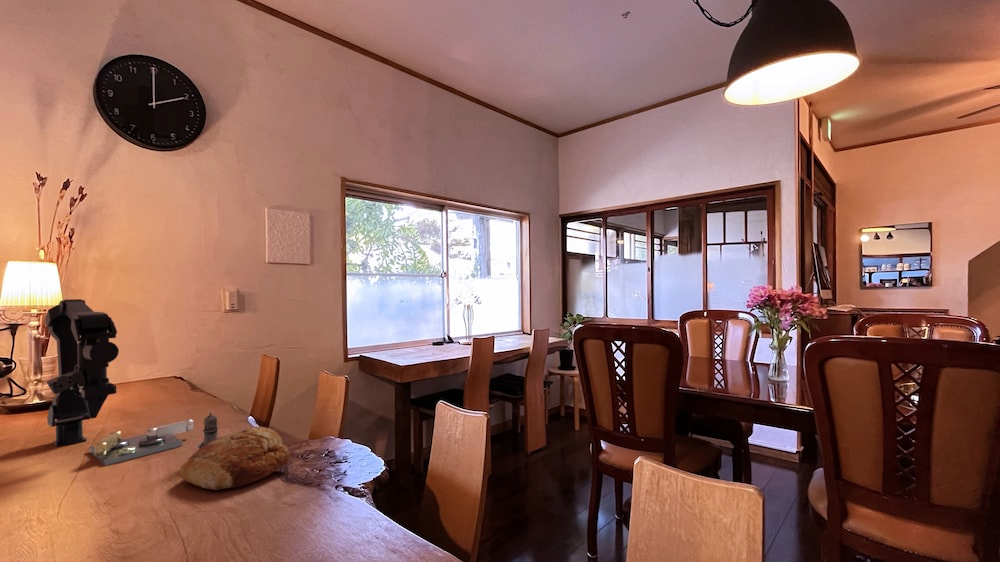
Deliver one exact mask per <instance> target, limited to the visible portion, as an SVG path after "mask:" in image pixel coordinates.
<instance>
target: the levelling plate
mask: <svg viewBox="0 0 1000 562" xmlns="http://www.w3.org/2000/svg"><path fill="white" fill-rule="evenodd" d="M144 438H147V433H144V434H140V435H135V436H132V437H131V436H130V437H126V439H128V440H129V444H128V445H126V446H123V447H120V448H116V449H110V450H109V451H107V454H105V455H101V456H95V452H94V445H92V446H89V453H90V454H91V455H92V456H93V457H94V458H95V459H96V460H98V461H99V462H100V463H101V464H102V465H103V466H105V467H106V466H110V465H111V466H112V465H116V464H119V463H122V462H126V461H130V460H133V459H134V460H135V459H136V458H141V457H146V456H149V455H152V454H156V453H160V452H165V451H168V450H172V449H175V448H179V447H183V446H184V444H183V440H182V439H181V438H179V437H177V436H175V435H174V434H173V435H169V436H165V440H164V441H163V442H160V443H157V444H153V445H146V446H141V445H139V441H140V440H141V439H144Z"/></svg>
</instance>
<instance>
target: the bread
mask: <svg viewBox="0 0 1000 562" xmlns="http://www.w3.org/2000/svg"><path fill="white" fill-rule="evenodd" d="M290 459H291V453H290V451H289V449H288V447H287V446H286V445H285V444H284V441H283V439H282V437H281V436H280V435H279V433H278V432H276V430H273V429H271V428H268V427H264V426H250V427H245V428H241V429H239V430H237V431H234V432H232V433H229V434H226V435H223V436H220V437H218V438H217V439H215V440H214V441H212V442H210V443H208V444H206V445H205V446H203V447H202V448H200V449H198V450H196V451H195V452H194V453H193V454H192V455H191V456H190V457H189V458H188V459H187V460H186V461H185V462H184V463H183V464H182V465H181V466H180V469H179V478H181V479H182V480H183V481H185V482H188V483H189V484H191V485H195V486H197V487H200V488H203V489H208V490H214V491H220V490H225V489H231V488H238V487H242V486H245V485H248V484H250V483H254V482H256V481H259V480H261V479H264V478H265V477H267V476H270V475H271V474H273V473H274V472H275V471H277V470H279V469H281V468H282V467H284V466H286V465H287V464H288V463H289V461H290Z"/></svg>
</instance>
